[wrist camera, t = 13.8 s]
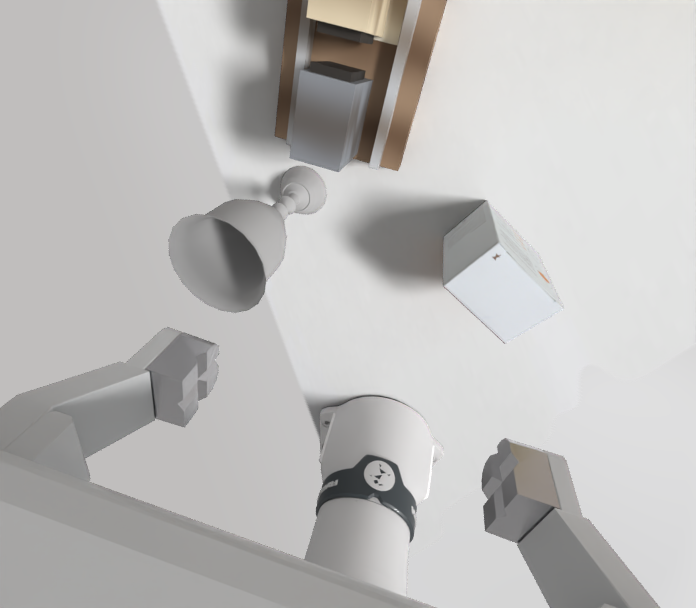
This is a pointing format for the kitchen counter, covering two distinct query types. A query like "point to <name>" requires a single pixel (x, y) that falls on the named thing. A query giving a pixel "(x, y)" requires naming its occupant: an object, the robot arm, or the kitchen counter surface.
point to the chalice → (241, 243)
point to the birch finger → (350, 18)
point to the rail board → (373, 68)
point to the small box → (497, 274)
